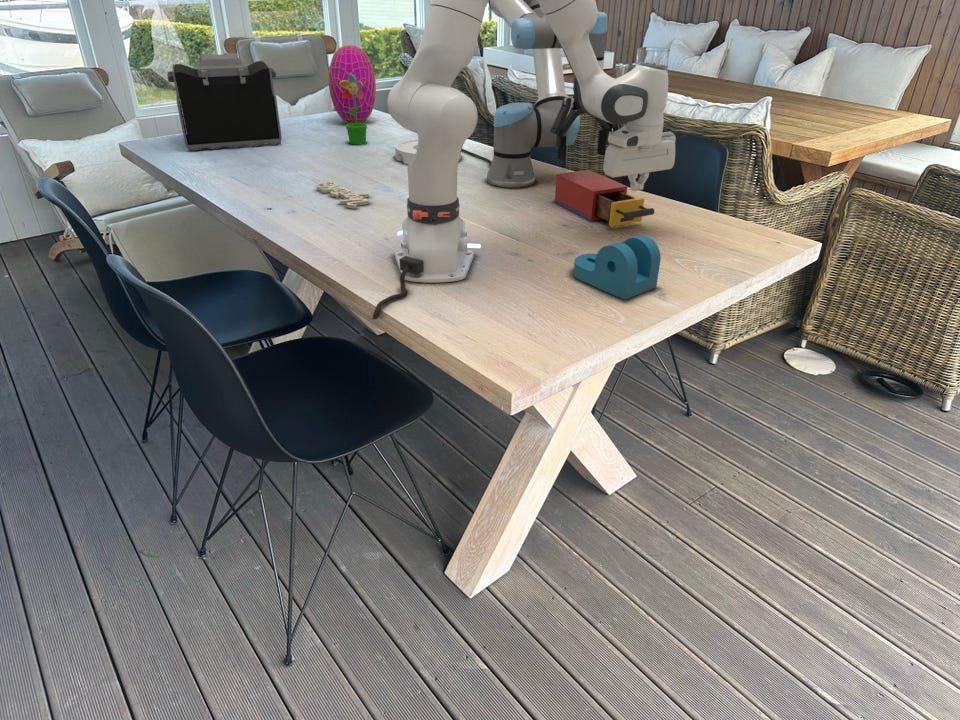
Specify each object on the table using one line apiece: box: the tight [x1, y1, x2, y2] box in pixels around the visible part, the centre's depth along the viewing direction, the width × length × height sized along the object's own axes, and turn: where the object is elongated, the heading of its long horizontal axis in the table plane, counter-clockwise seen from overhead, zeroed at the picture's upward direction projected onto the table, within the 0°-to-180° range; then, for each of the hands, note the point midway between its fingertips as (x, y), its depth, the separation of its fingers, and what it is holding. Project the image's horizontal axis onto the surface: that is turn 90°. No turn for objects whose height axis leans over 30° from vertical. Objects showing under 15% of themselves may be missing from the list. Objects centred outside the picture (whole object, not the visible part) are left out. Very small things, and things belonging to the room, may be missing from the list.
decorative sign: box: [316, 180, 370, 210], centre depth 205 cm, size 26×1×10 cm
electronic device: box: [166, 52, 283, 152], centre depth 253 cm, size 37×22×30 cm, turn 111°
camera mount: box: [573, 234, 662, 301], centre depth 150 cm, size 18×10×10 cm, turn 39°
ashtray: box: [394, 138, 462, 165], centre depth 243 cm, size 23×23×4 cm
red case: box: [554, 169, 628, 222], centre depth 195 cm, size 19×11×8 cm, turn 27°
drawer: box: [595, 191, 655, 227], centre depth 186 cm, size 22×10×6 cm, turn 27°
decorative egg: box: [328, 44, 377, 124], centre depth 286 cm, size 19×19×30 cm
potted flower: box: [339, 73, 368, 145], centre depth 255 cm, size 9×8×25 cm
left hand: (636, 189), depth 176 cm, fingers closed
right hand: (581, 157), depth 194 cm, fingers open, 13 cm apart
